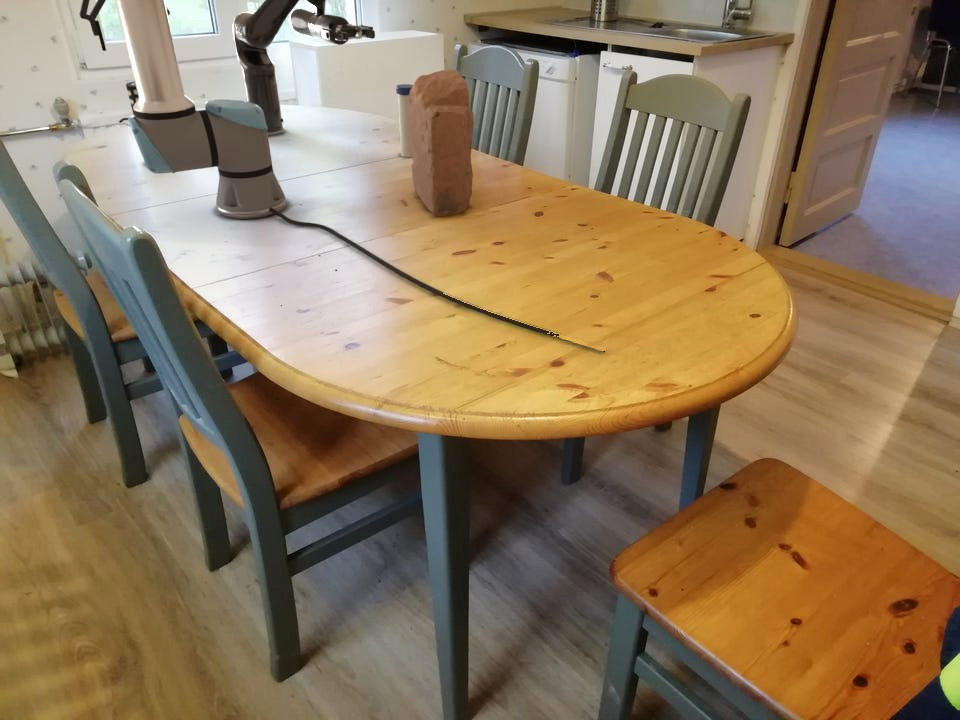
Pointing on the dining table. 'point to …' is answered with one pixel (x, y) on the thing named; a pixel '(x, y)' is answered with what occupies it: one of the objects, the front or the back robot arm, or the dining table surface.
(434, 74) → the stone
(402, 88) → the lid
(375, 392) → the dining table surface
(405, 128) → the white cylinder
